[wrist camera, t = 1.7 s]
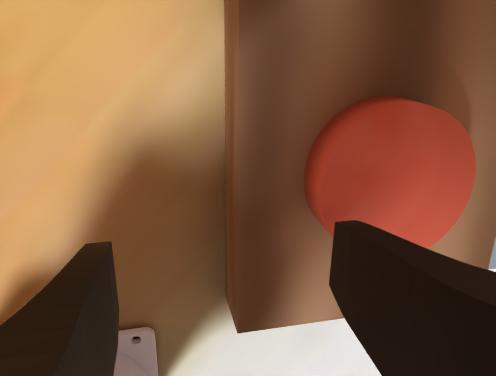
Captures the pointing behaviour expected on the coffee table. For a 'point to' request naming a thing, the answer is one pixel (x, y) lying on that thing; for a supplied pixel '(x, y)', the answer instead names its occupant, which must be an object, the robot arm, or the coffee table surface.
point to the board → (319, 115)
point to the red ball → (391, 169)
